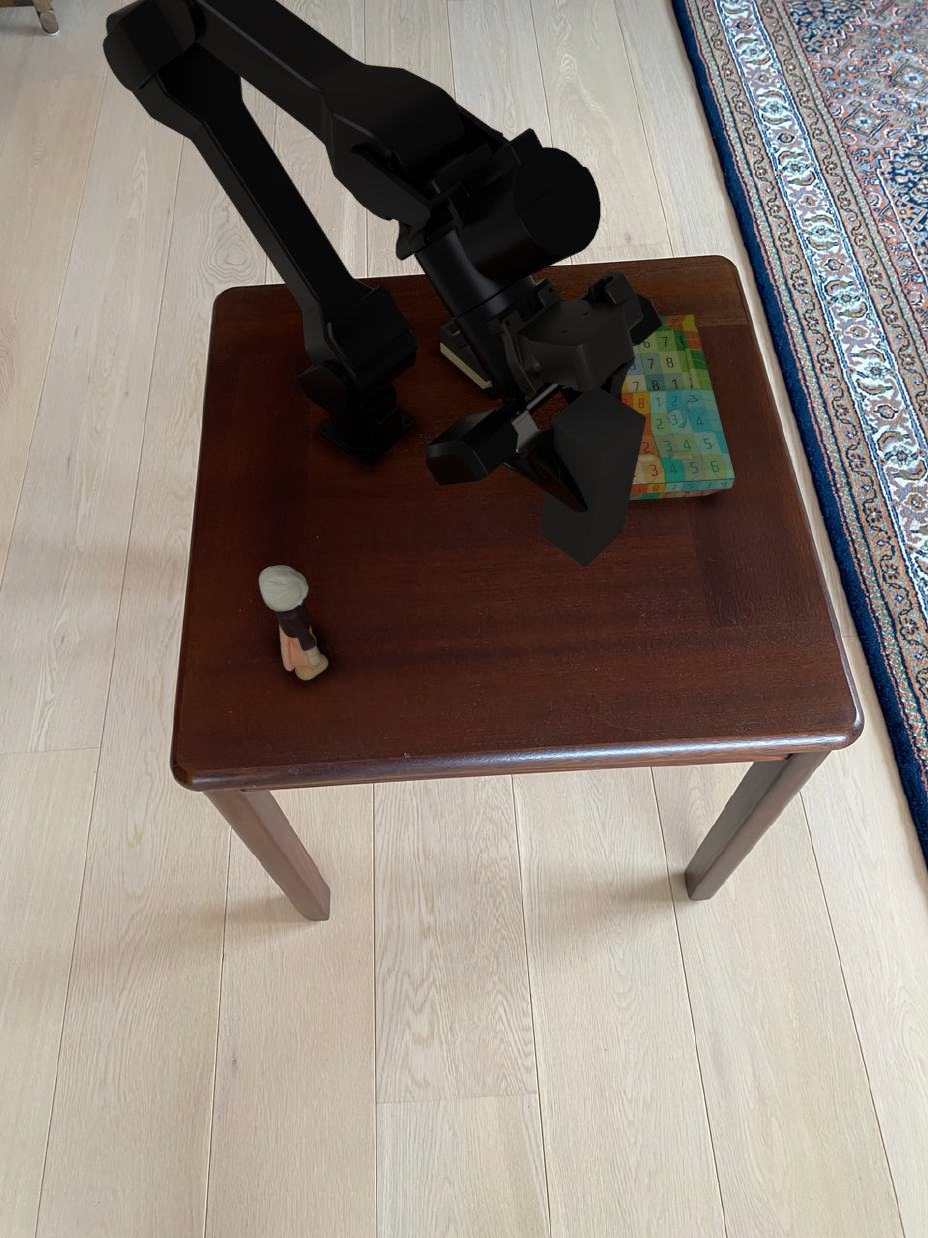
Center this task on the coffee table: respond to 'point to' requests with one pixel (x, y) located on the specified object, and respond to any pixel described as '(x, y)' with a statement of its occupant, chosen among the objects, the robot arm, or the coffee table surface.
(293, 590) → the grandmother figurine
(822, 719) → the coffee table surface
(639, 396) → the puzzle game
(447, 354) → the base pad
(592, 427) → the pad block
